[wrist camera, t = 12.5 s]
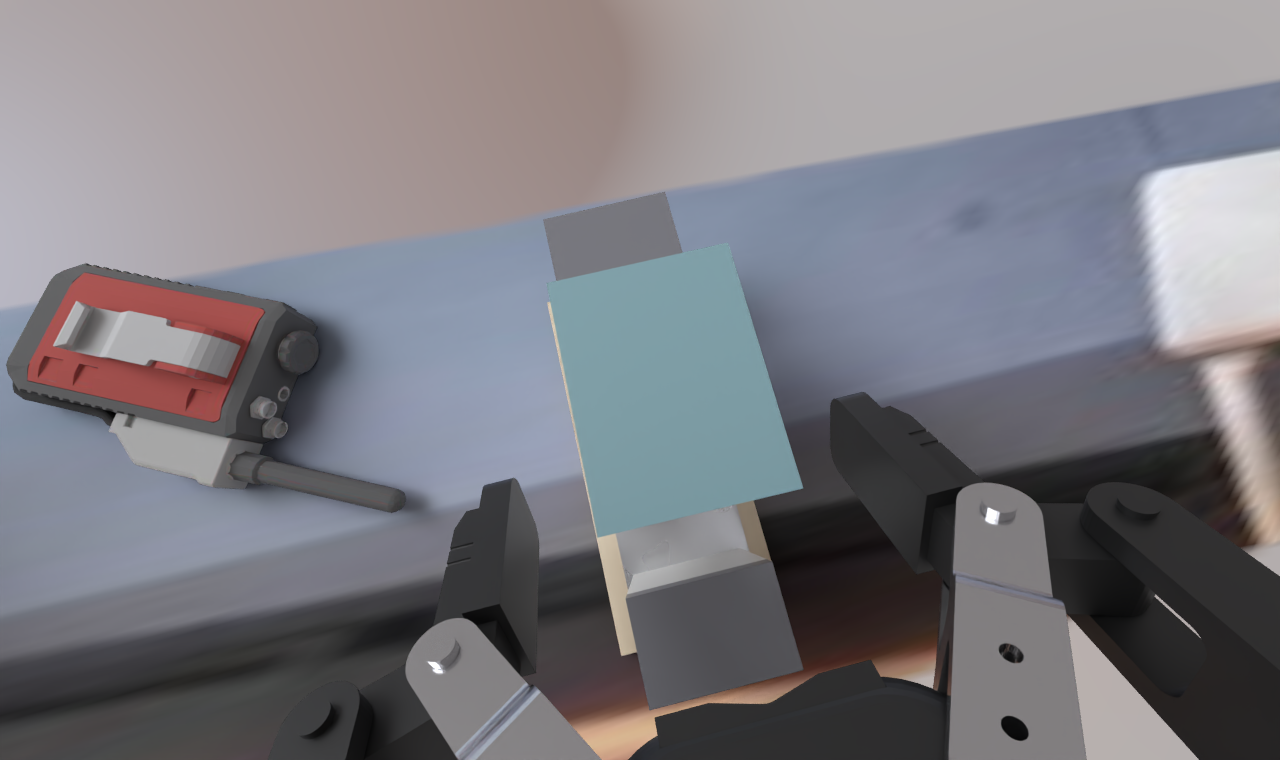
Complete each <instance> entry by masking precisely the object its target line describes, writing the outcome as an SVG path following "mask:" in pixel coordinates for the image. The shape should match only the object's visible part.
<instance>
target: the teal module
mask: <svg viewBox="0 0 1280 760" xmlns="http://www.w3.org/2000/svg"><path fill="white" fill-rule="evenodd" d="M547 288H548V293H549V298H550V303H551V308H552V313H553V318H554V323H555V328H556V333H557V338H558V343H559V348H560V353H561V358H562V363H563V368H564V373H565V378H566V383H567V388H568V393H569V398H570V403H571V408H572V413H573V418H574V423H575V428H576V433H577V438H578V443H579V447H580V452H581V457H582V462H583V467H584V472H585V477H586V482H587V487H588V492H589V497H590V502H591V507H592V512H593V517H594V522H595V527H596V532H597V537H598V538H599V537H603V536H607V535H611V534H615V533H619V532H624V531H628V530H632V529H636V528H640V527H644V526H649V525H653V524H657V523H661V522H665V521H669V520H674V519H678V518H682V517H686V516H690V515H694V514H699V513H703V512H707V511H711V510H715V509H719V508H724V507H728V506H732V505H736V504H740V503H744V502H749V501H753V500H757V499H761V498H765V497H769V496H774V495H778V494H782V493H786V492H790V491H794V490H799V489H803V486H802V482H801V479H800V476H799V473H798V469H797V466H796V463H795V460H794V456H793V453H792V450H791V447H790V443H789V440H788V437H787V433H786V430H785V427H784V424H783V420H782V417H781V414H780V411H779V407H778V404H777V401H776V398H775V394H774V391H773V388H772V385H771V381H770V378H769V375H768V371H767V368H766V365H765V362H764V358H763V355H762V352H761V349H760V345H759V342H758V339H757V336H756V332H755V329H754V326H753V323H752V319H751V316H750V313H749V310H748V306H747V303H746V300H745V296H744V293H743V290H742V287H741V283H740V280H739V277H738V274H737V270H736V267H735V264H734V261H733V257H732V254H731V251H730V248H729V244H728V243H724V244H720V245H715V246H711V247H706V248H702V249H697V250H693V251H688V252H684V253H679V254H675V255H671V256H666V257H662V258H657V259H653V260H648V261H644V262H639V263H635V264H630V265H626V266H621V267H617V268H612V269H608V270H603V271H599V272H595V273H590V274H586V275H581V276H577V277H572V278H568V279H563V280H559V281H554V282H550V283H547Z"/></svg>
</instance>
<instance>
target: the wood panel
mask: <svg viewBox="0 0 1280 760" xmlns="http://www.w3.org/2000/svg"><path fill="white" fill-rule="evenodd" d="M548 308H549V313H550V317H551V322H552V327H553V332H554V337H555V341H556V346H557V351H558V356H559V360H560V365H561V370H562V375H563V379H564V384H565V389H566V394H567V399H568V403H569V408H570V413H571V418H572V422H573V427H574V432H575V437H576V442H577V446H578V451H579V456H580V461H581V465H582V470H583V475H584V480H585V485H586V489H587V494H588V499H589V504H590V508H591V513H592V518H593V523H594V527H595V522H594V517H593V512H592V507H591V502H590V497H589V492H588V487H587V482H586V477H585V472H584V467H583V462H582V457H581V452H580V447H579V443H578V438H577V433H576V428H575V423H574V418H573V413H572V408H571V403H570V398H569V393H568V388H567V383H566V378H565V373H564V368H563V363H562V358H561V353H560V348H559V343H558V338H557V333H556V328H555V323H554V318H553V313H552V308H551V303H550V302H548ZM736 505H737V509H738V512H739V516H740V519H741V523H742V527H743V530H744V534H745V537H746V541H747V544H748V548H749V551H750V552H751V553H753V554H756V555H758V556H760V557H763V558H765V559H768V560H770V561H771V559H770V555H769V552H768V548H767V545H766V541H765V538H764V535H763V531H762V528H761V524H760V521H759V517H758V514H757V510H756V507H755V504H754V500H753V501H749V502H744V503H740V504H736ZM595 532H596V527H595ZM596 537H597V532H596ZM597 542H598V547H599V551H600V556H601V561H602V566H603V570H604V575H605V580H606V585H607V590H608V594H609V599H610V604H611V609H612V613H613V618H614V623H615V628H616V633H617V637H618V642H619V647H620V652H621V656H623V655H627V654H631V653H635V652H637V650H636V645H635V641H634V636H633V631H632V627H631V622H630V618H629V613H628V608H627V604H626V599H625V598H626V595H627V592H628V588H627V583H626V579H625V574H624V570H623V565H622V560H621V556H620V551H619V547H618V542H617V538H616V533H615V534H611V535H607V536H603V537H599V538H598V537H597Z"/></svg>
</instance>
